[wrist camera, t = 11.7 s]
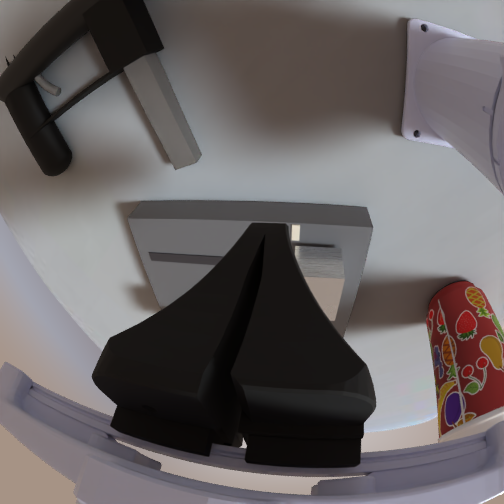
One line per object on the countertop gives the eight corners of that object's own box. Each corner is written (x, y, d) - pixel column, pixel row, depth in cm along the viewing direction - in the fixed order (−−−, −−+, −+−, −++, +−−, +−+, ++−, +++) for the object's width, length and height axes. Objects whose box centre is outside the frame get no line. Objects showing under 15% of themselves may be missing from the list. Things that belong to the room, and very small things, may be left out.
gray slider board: (366, 207, 19) (373, 228, 17) (337, 333, 29) (337, 354, 27) (141, 201, 22) (126, 219, 20) (180, 320, 31) (173, 338, 29)
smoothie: (400, 317, 26) (417, 518, 11) (451, 258, 21) (511, 495, 6) (451, 331, 27) (476, 498, 12) (499, 282, 21) (552, 466, 6)
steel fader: (341, 248, 18) (344, 278, 16) (333, 290, 21) (334, 320, 19) (295, 245, 19) (293, 276, 17) (292, 288, 21) (290, 318, 19)
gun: (284, 141, 15) (180, -92, 6) (62, 220, 22) (-18, 79, 12) (286, 123, 18) (198, -77, 8) (81, 199, 24) (8, 67, 15)
